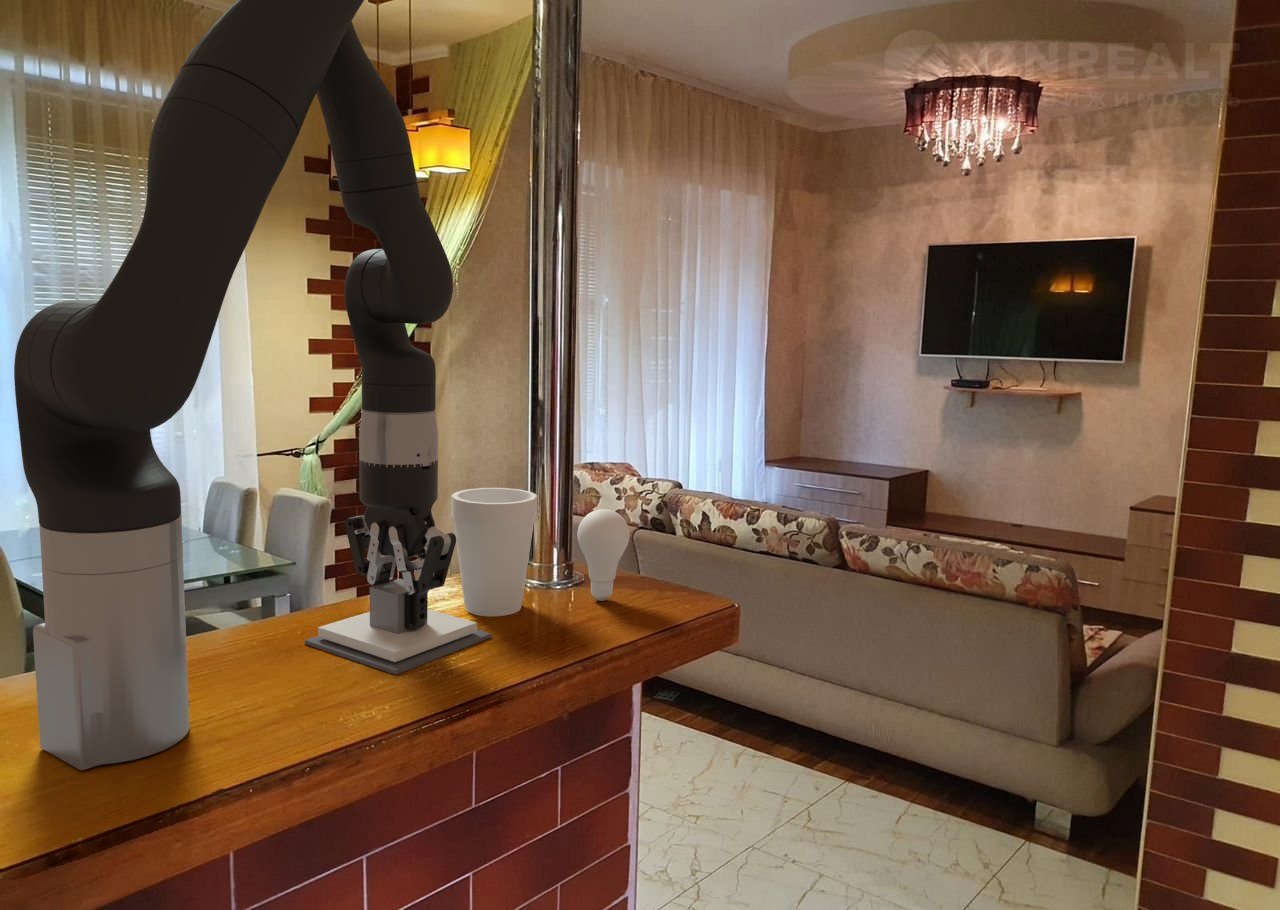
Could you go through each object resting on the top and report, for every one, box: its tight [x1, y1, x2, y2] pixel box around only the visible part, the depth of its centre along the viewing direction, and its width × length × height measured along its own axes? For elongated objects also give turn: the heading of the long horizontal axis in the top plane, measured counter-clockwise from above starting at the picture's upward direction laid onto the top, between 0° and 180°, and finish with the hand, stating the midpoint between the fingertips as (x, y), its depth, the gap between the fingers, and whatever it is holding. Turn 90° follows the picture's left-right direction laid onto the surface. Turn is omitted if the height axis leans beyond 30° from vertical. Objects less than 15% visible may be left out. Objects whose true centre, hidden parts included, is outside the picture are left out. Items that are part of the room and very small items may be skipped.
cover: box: [317, 578, 478, 662], centre depth 95 cm, size 11×11×5 cm
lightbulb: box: [576, 508, 630, 602], centre depth 110 cm, size 6×6×11 cm
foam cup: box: [450, 487, 538, 617], centre depth 106 cm, size 10×9×13 cm
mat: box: [304, 629, 492, 676], centre depth 96 cm, size 13×13×1 cm
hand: (399, 622), depth 95 cm, fingers closed on cover, 4 cm apart
